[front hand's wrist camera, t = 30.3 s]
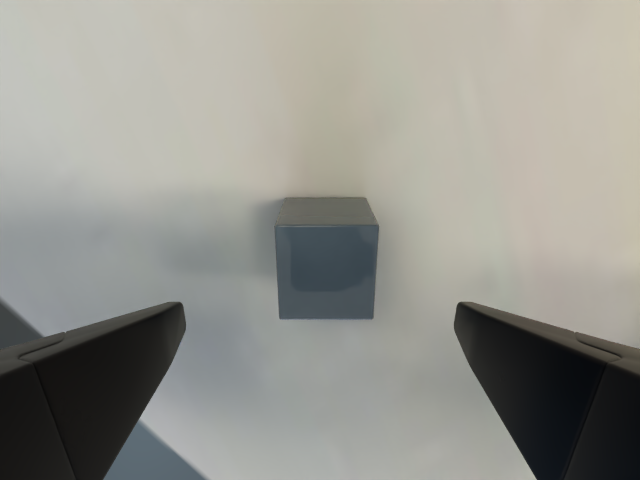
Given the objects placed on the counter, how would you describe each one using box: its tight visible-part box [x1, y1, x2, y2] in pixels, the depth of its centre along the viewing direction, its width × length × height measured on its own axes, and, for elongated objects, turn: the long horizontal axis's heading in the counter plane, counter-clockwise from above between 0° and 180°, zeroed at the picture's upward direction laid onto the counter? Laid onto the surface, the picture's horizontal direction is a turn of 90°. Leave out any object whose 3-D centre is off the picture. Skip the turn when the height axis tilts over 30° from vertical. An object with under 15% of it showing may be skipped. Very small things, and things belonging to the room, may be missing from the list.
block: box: [275, 198, 379, 320], centre depth 17 cm, size 4×4×4 cm
